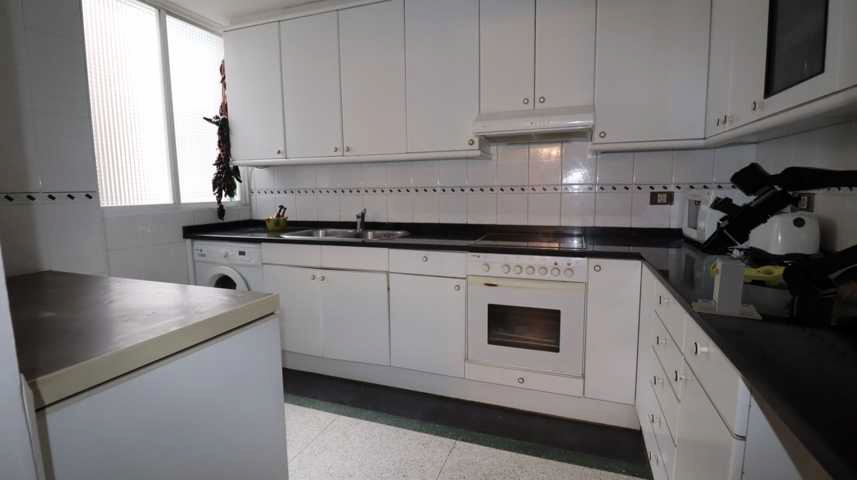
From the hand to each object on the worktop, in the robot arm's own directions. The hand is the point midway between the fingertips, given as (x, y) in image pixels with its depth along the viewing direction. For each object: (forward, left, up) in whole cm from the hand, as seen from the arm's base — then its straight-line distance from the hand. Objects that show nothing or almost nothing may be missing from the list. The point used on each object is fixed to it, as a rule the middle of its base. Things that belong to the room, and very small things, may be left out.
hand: (702, 249), depth 106 cm
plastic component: (+17, -33, -14) cm, 40 cm away
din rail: (-9, 0, -14) cm, 17 cm away
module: (-9, 0, -14) cm, 16 cm away
